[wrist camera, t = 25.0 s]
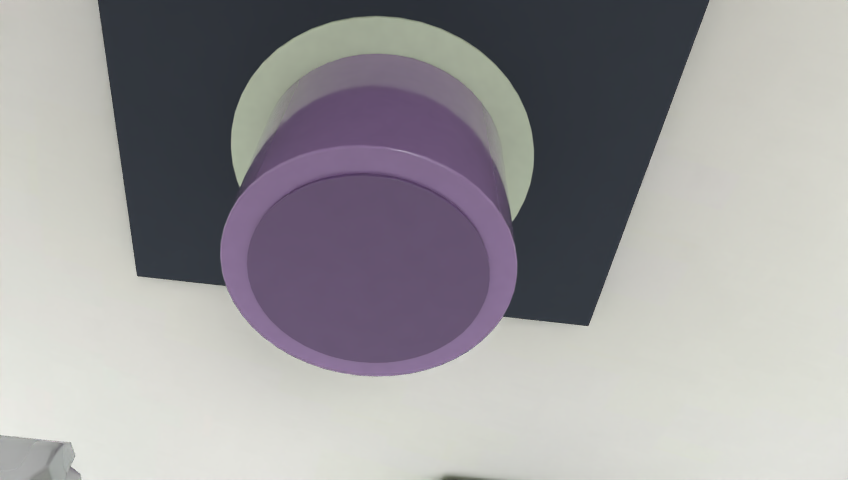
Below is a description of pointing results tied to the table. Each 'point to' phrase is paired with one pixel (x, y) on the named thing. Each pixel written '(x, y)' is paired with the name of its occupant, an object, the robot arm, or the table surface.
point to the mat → (422, 40)
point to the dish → (373, 220)
